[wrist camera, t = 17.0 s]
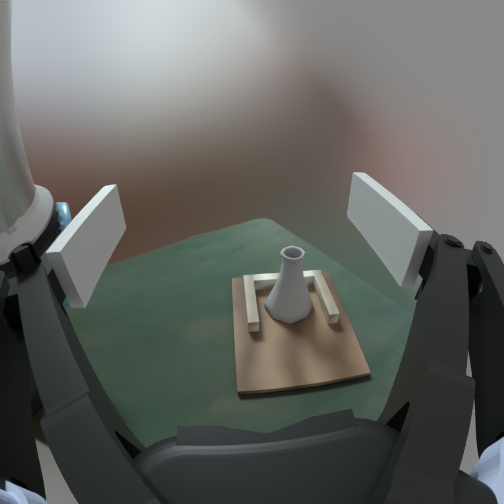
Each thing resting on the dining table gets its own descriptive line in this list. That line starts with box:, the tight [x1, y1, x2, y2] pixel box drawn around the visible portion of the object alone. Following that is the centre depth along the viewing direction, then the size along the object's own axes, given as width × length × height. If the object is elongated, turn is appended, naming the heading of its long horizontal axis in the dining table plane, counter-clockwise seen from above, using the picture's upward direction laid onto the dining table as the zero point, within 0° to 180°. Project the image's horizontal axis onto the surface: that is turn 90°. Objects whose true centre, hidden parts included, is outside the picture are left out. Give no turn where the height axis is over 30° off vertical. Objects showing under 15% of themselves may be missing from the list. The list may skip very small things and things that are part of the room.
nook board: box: [232, 270, 371, 394], centre depth 39 cm, size 17×22×3 cm
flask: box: [264, 246, 313, 324], centre depth 39 cm, size 7×7×10 cm
